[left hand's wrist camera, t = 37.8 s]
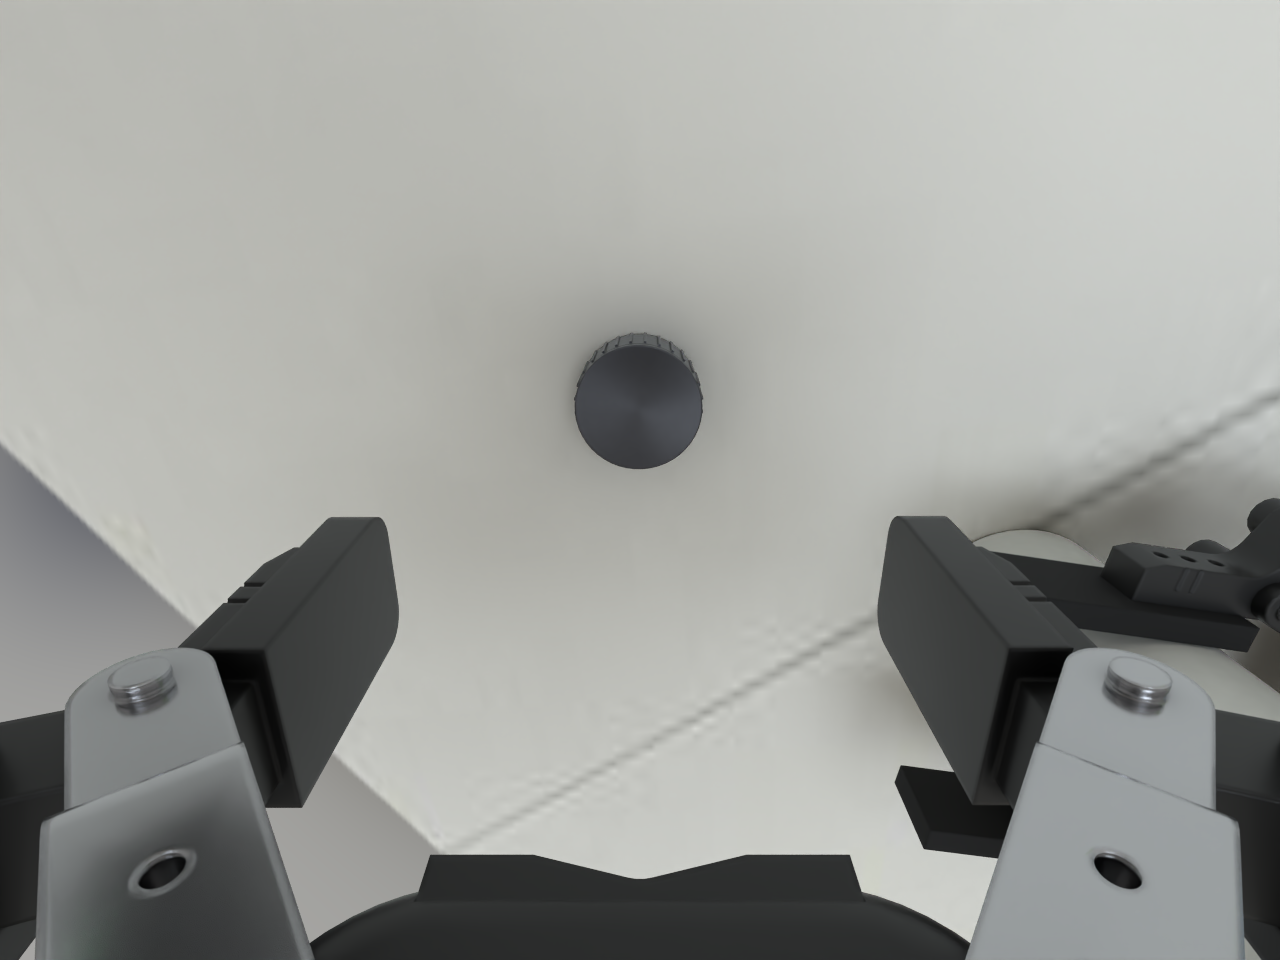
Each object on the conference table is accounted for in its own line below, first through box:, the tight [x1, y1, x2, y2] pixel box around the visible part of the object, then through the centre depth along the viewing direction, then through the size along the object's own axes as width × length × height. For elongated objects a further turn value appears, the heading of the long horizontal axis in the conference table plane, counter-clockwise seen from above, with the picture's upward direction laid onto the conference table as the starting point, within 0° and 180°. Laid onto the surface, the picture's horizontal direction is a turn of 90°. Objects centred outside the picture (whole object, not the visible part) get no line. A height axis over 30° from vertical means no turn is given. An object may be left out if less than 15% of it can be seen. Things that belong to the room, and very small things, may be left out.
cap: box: [574, 333, 703, 469], centre depth 23 cm, size 4×4×2 cm
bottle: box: [973, 530, 1280, 960], centre depth 16 cm, size 7×7×23 cm
